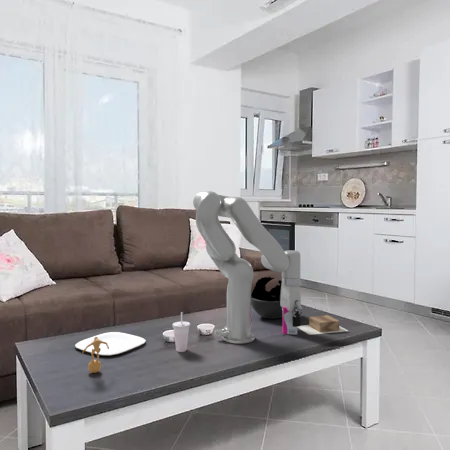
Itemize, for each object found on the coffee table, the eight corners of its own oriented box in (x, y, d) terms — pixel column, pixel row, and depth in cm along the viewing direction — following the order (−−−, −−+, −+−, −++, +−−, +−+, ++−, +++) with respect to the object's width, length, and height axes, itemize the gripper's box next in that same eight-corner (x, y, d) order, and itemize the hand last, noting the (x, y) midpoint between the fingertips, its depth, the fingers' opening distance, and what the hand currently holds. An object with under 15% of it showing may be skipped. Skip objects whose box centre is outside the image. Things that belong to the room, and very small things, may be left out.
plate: (109, 362, 149) (109, 357, 148) (67, 349, 160) (67, 344, 160) (152, 343, 167) (152, 339, 167) (112, 333, 178) (112, 329, 178)
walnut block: (319, 332, 178) (320, 322, 178) (309, 326, 187) (309, 316, 187) (339, 330, 181) (339, 321, 181) (327, 324, 190) (328, 315, 189)
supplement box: (296, 332, 182) (296, 304, 181) (297, 336, 176) (297, 308, 175) (282, 331, 182) (282, 304, 181) (282, 335, 176) (283, 307, 175)
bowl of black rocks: (247, 312, 211) (247, 273, 209) (288, 312, 212) (289, 273, 211) (252, 324, 191) (252, 282, 189) (297, 324, 192) (298, 281, 191)
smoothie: (173, 353, 155) (173, 314, 154) (171, 347, 161) (171, 310, 161) (191, 352, 157) (191, 313, 156) (188, 346, 163) (188, 309, 162)
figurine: (105, 367, 143) (105, 331, 142) (111, 374, 138) (111, 336, 137) (79, 373, 138) (79, 335, 137) (84, 379, 133) (84, 341, 132)
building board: (309, 336, 175) (309, 334, 175) (295, 327, 187) (295, 326, 187) (348, 332, 181) (348, 330, 181) (333, 324, 192) (333, 322, 192)
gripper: (273, 278, 184) (273, 318, 186) (292, 286, 168) (292, 330, 169) (289, 276, 187) (289, 316, 188) (309, 284, 170) (309, 328, 172)
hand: (290, 322), depth 179 cm, fingers open, 9 cm apart
